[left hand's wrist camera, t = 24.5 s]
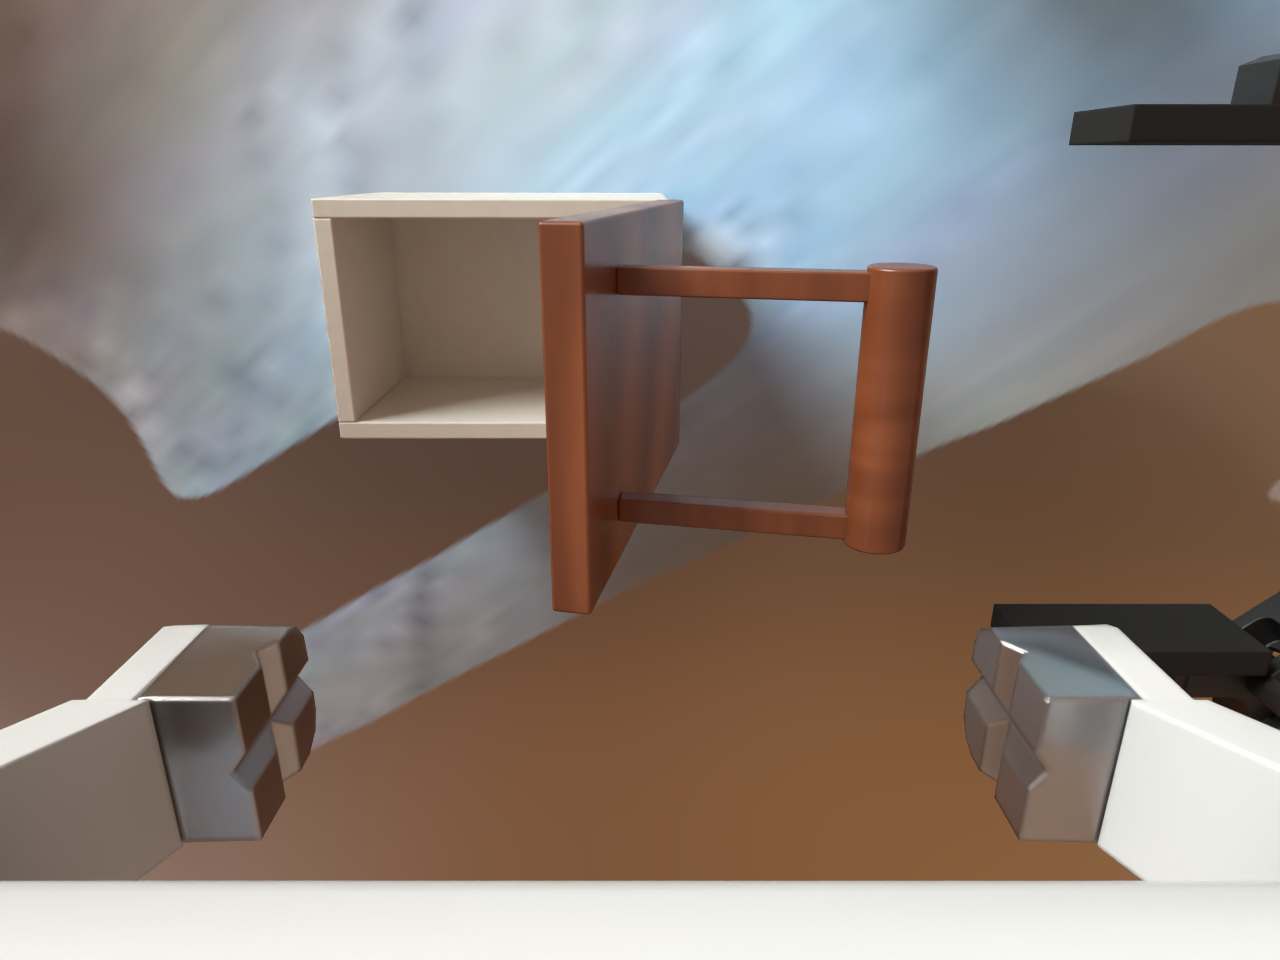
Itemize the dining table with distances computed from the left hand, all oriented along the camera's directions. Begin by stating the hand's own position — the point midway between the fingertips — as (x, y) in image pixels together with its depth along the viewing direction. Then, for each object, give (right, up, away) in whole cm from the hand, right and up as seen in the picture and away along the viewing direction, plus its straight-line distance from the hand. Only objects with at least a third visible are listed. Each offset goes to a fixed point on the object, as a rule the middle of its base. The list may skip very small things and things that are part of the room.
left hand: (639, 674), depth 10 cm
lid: (-1, +6, +16) cm, 17 cm away
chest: (-6, +12, +32) cm, 34 cm away
